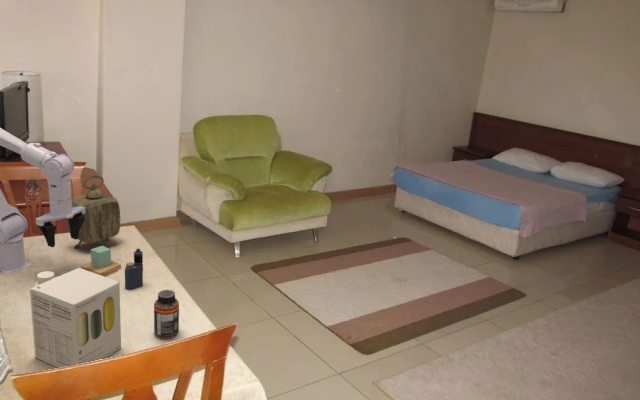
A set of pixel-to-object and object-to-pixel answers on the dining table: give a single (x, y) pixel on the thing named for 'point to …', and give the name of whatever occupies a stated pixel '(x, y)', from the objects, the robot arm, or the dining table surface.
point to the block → (100, 257)
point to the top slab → (103, 270)
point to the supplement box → (76, 318)
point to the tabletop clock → (97, 215)
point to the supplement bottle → (166, 315)
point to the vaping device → (134, 272)
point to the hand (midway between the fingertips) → (63, 242)
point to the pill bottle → (44, 277)
